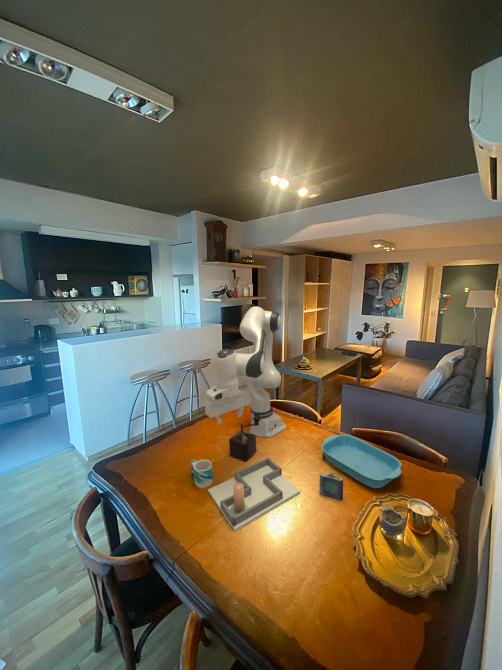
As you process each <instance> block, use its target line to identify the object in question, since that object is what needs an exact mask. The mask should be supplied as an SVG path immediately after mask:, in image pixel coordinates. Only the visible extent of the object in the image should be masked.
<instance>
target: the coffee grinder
mask: <svg viewBox="0 0 502 670" xmlns="http://www.w3.org/2000/svg"><path fill="white" fill-rule="evenodd" d="M260 419H261V418H260V417H259V416H254V418H253V420H254V424H251V423H247V424H245V425H244V424H243V423H240V429H241V430H239V431H237V432H236V433H235V434H234V435H232V436H231V437H230V438H228V446H229V447H228V448H229V456H230V457H232V458H234V459H237V460H239V461H243V462H247V461H249V460H250V459H251V458H252V457H253V456H254V455H255V454H256V452H257V436H256V435H254V434H251V433H250V432H247V431H244V428H247V427H249V426H254V425H255V426H257V425H259V421H260Z"/></svg>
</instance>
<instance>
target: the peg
mask: <svg viewBox="0 0 502 670" xmlns="http://www.w3.org/2000/svg"><path fill="white" fill-rule="evenodd" d="M233 492H234V510H235V512H236V513H238V514H239V513H241V512H243V511H245V499H244V485H243V484H242V483H235V484H234V485H233Z"/></svg>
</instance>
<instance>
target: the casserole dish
mask: <svg viewBox="0 0 502 670" xmlns="http://www.w3.org/2000/svg"><path fill="white" fill-rule="evenodd" d="M320 449H321V450H322V453H323V455H324V458H325V459H326V460H327V462H328V463H330V464H331V465H332V466H334V467H335V468H337V469H338V470H339V471H342V472H343V473H345V474H347V475H348V476H350V477H351V478H353V479H354V480H356V481H358V482H360V483H362V484H363V485H365V486H367V487H370V488H372V489H381V488H383V487H384V486H386V485H388V484H389V483H390V482H391V481H393V480H394V479H396V478H398V477H400V476H401V474H402V470H401V467H402V463H401V461H400V460H399V458H397V457H395V456H394V455H392V454H390V453H388V452H386V451H385V450H382V449H381V448H378V447H376V446H374V445H372V444H370V443H368V442H367V441H364V440H363V439H360V438H358V437H356V436H353V435H350V434H338V435H331V436H328V437H326V438H325V439H324V440H323V443H322V444H321V447H320Z"/></svg>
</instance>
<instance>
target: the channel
mask: <svg viewBox="0 0 502 670" xmlns="http://www.w3.org/2000/svg"><path fill="white" fill-rule="evenodd" d="M282 472H283V470H282V468H281V467H280V466H279V465H278V464H277V463H276V462H274V461H273V460H272V459H271V458H269V457H267V458H265V459H261V460H260V461H258V462H256V463H253V464H251V465H248V466H247V467H244V468H242V469H240V470H238V471H237V470H236V472H234V477H231V478H230V479H228V480H226V481H223V482H221V483H220V484H217V485H214V486H212V487H211V488H208V489H207V492H208V494H209V495H210V497H211V498H212V500H213V501H214V503H215V504H216V506H217V508H218V509H219V511H220V512H221V514H222V515H223V516H224V518H225V519H226V521H227V522H228V523H229V525H230V526H231V528H232V530H233V531H234V532H237V531H239V530H241V529H242V528H244V527H245V526H248V525H250V524H251V523H253V522H254V521H256V520H258V519H259V518H261V517H263V516H265V515H266V514H268V513H270V512H271V511H273V510H274V509H276V508H278V507H281V506H282V505H283V504H285V503H286V502H289V501H291V500H292V499H293V498H295V497H297V496H298V495H300V494H301V491H300V489H298V487H296V486H295V485H294V484H293V483H292V482H291V481H290V480H288V479H287V478H286V477H285V476H284V475H283V473H282ZM235 483H242V484H243V485H244V499H245V504H246V505H247V506H248V509H246V510H245V511H243V512H241V513H239V514H237V515H236V516H233V514H232V513H231V511H230V509H231V507H232V506H233V505H234V492H233V485H234V484H235Z"/></svg>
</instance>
